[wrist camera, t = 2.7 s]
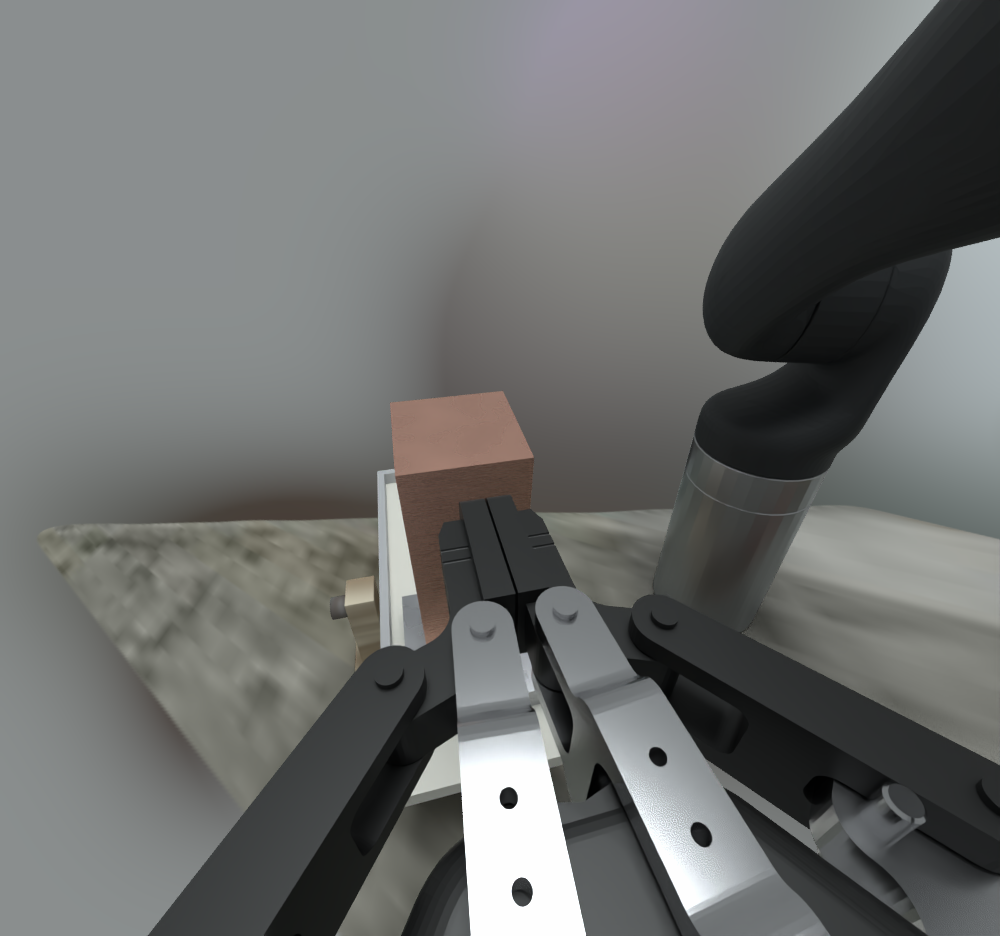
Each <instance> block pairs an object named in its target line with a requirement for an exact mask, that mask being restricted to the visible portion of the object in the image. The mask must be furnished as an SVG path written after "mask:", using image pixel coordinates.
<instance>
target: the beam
mask: <svg viewBox="0 0 1000 936" xmlns="http://www.w3.org/2000/svg"><path fill="white" fill-rule="evenodd" d="M377 473H378V531H379V589H380V646H381V648H384V647H387V646H393V645H400V646H405V639H404V624H403V608H402V597H403V596H409V595H414V594H417V592H416V586H415V581H414V576H413V570H412V565H411V560H410V554H409V549H408V543H407V538H406V533H405V527H404V522H403V516H402V511H401V506H400V500H399V495H398V490H397V484H396V479H395V469H390V470H383V471H378V472H377ZM532 708H534V709H535V711H536V714H537V717H538V720H539V724H540V729H541V733H542V738H543V742H544V747H545V752H546V756H547V761H548V765H549V768H552V767H556V766H559V765H563V763H562V759H561V756H560V754H559V751H558V748H557V746H556V743H555V741H554V738H553V735H552V733H551V730H550V728H549V725H548V722H547V720H546V717H545V715H544V712H543V709H542V707H541V704H537V705H533V706H532ZM459 792H462V790H461V775H460V760H459V745H458V734H457V735H455V736H454V737H452V738H451V739H449V740H448V741H446V742H445V743H443V744H442V745H440V746H439V747H437V748H436V749H435V750H434V753H433V755H432V757H431V759H430V761H429V763H428V764H427V766H426V768H425V770H424V772H423V774H422V775H421V777H420V779H419V781H418V783H417V785H416V787H415V788H414V790H413V792H412V794H411V796H410V798H409V800H408V801H407V803H406V805H405V807H407V806H411V805H415V804H418V803H422V802H426V801H430V800H433V799H437V798H441V797H444V796H448V795H452V794H456V793H459Z"/></svg>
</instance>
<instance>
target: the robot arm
mask: <svg viewBox="0 0 1000 936" xmlns="http://www.w3.org/2000/svg"><path fill="white" fill-rule="evenodd" d="M999 237H1000V0H940V1H939V2H938V3H937V4H936V6H935V7H934V8H933V9H932V10H931V12H930V13H929V14H928V15H927V16H926V18H925V19H924V20H923V21H922V22H921V24H920V25H919V26H918V27H917V28H916V29H915V31H914V32H913V33H912V34H911V35H910V36H909V37H908V38H907V40H906V41H905V42H904V43H903V44H902V45H901V46H900V48H899V49H898V50H897V51H896V52H895V53H894V55H893V56H892V57H891V58H890V59H889V60H888V62H887V63H886V64H885V65H884V66H883V67H882V69H881V70H880V71H879V72H878V73H877V74H876V75H875V77H874V78H873V79H872V80H871V81H870V82H869V84H868V85H867V86H866V87H865V88H864V89H863V90H862V91H861V92H860V94H859V95H858V96H857V97H856V98H855V99H854V100H853V101H852V103H851V104H850V105H849V106H848V107H847V108H846V109H845V110H844V111H843V112H842V113H841V114H840V115H839V116H838V117H837V118H836V119H835V120H834V121H833V122H832V123H831V124H830V125H829V126H828V127H827V129H826V130H825V131H824V132H823V133H822V134H821V135H820V136H819V137H818V138H817V139H816V140H815V141H814V142H813V143H812V144H811V145H810V146H809V147H808V148H807V149H806V150H805V151H804V152H803V153H802V154H801V155H800V156H799V157H798V158H797V159H796V160H795V161H794V162H793V163H792V164H791V165H790V166H789V167H788V168H787V169H786V170H785V171H784V172H783V173H782V175H780V176H779V177H778V178H777V179H776V180H775V181H774V182H773V183H772V184H771V186H769V187H768V189H767V190H766V191H765V192H764V193H763V194H762V195H761V196H760V197H759V198H758V199H757V200H756V201H755V202H754V203H753V204H752V206H750V208H749V209H748V210H747V211H746V212H745V214H744V215H743V216H742V218H741V219H740V220H739V221H738V223H737V224H736V225H735V227H734V228H733V229H732V231H731V232H730V234H729V236H728V237H727V239H726V240H725V242H724V244H723V245H722V247H721V249H720V251H719V253H718V255H717V257H716V259H715V262H714V264H713V266H712V269H711V271H710V274H709V277H708V280H707V283H706V287H705V292H704V298H703V318H704V325H705V328H706V331H707V333H708V335H709V337H710V339H711V340H712V342H713V343H714V345H715V346H717V347H718V348H719V349H720V350H721V351H723V352H724V353H727V354H729V355H731V356H734V357H737V358H741V359H746V360H753V361H765V362H768V361H769V362H787V364H786V365H784V366H783V367H781V368H780V369H778V370H777V371H775V372H773V373H771V374H770V375H767V376H765V377H763V378H761V379H758V380H756V381H753V382H750V383H747V384H744V385H740V386H737V387H734V388H730V389H727V390H724V391H721V392H719V393H717V394H715V395H714V396H712V397H711V398H709V399H708V401H706V403H705V404H704V406H703V407H702V410H701V412H700V415H699V418H698V422H697V425H696V429H695V433H694V437H693V440H692V444H691V447H690V451H689V455H688V458H687V462H686V466H685V470H684V473H683V477H682V481H681V484H680V487H679V491H678V495H677V498H676V502H675V506H674V509H673V513H672V516H671V520H670V523H669V527H668V530H667V534H666V538H665V541H664V545H663V548H662V551H661V555H660V559H659V562H658V566H657V569H656V573H655V577H654V582H653V588H654V593H655V594H654V595H647V596H644V597H641V598H640V599H638V600H637V601H636V602H635V604H634V606H633V608H624V607H613V606H605V605H601V604H597V603H595V602H592V601H591V600H590V598H589V597H588V596H587V595H586V594H584V593H583V592H581V591H579V590H578V589H576V587H575V586H574V584H573V582H572V580H571V578H570V575H569V573H568V571H567V569H566V567H565V565H564V563H563V561H562V559H561V557H560V555H559V552H558V550H557V548H556V546H554V542H553V540H552V538H551V536H550V535H549V532H548V529H547V527H546V525H545V523H544V521H543V519H542V518H541V517H539V516H538V515H537V514H536V513H535V512H533V511H532V510H531V509H526V510H520V511H517V508H516V506H515V504H514V501H513V499H512V496H511V495H510V494H509V495H502V496H495V497H488V498H485V499H484V498H482V499H475V500H468V501H462V502H459V515H460V520H455V521H449V522H444V523H443V525H442V528H441V530H440V533H439V535H438V538H439V547H440V555H441V564H442V573H443V579H444V585H445V592H446V598H447V604H448V611H449V617H450V618H449V621H448V624H447V626H446V628H445V629H444V630H443V632H442V633H441V634H440V635H439V636H438V637H437V638H435V639H434V640H433V641H431V642H429V643H428V644H426V645H424V646H422V647H420V648H418V649H417V650H415V651H414V650H412V649H411V648H408V647H405V646H400V645H393V646H387V647H384V648H381V649H379V650H377V651H375V652H374V653H372V654H371V655H370V656H368V657H367V658H366V659H365V660H364V661H363V662H362V664H361V665H360V666H359V668H358V669H357V670H356V671H355V673H354V674H353V675H352V676H351V678H350V679H349V680H348V682H347V683H346V684H345V685H344V687H343V688H342V689H341V690H340V692H339V693H338V694H337V696H336V697H335V698H334V699H333V701H332V702H331V703H330V704H329V706H328V707H327V708H326V710H325V711H324V712H323V713H322V715H321V716H320V717H319V718H318V720H317V721H316V722H315V724H314V725H313V726H312V727H311V729H310V730H309V731H308V732H307V734H306V735H305V736H304V738H303V739H302V740H301V741H300V743H299V744H298V745H297V746H296V748H295V749H294V750H293V752H292V753H291V754H290V755H289V757H288V758H287V759H286V760H285V762H284V763H283V764H282V766H281V767H280V768H279V769H278V771H277V772H276V773H275V774H274V776H273V777H272V778H271V780H270V781H269V782H268V783H267V785H266V786H265V787H264V788H263V790H262V791H261V792H260V794H259V795H258V796H257V797H256V799H255V800H254V801H253V802H252V804H251V805H250V806H249V808H248V809H247V810H246V811H245V813H244V814H243V815H242V816H241V818H240V819H239V820H238V822H237V823H236V824H235V826H234V827H233V828H232V829H231V831H230V832H229V833H228V834H227V836H226V837H225V838H224V839H223V841H222V842H221V843H220V845H219V846H218V847H217V848H216V850H215V851H214V852H213V853H212V855H211V856H210V857H209V858H208V860H207V861H206V862H205V864H204V865H203V866H202V867H201V869H200V870H199V871H198V873H197V874H196V875H195V876H194V878H193V879H192V880H191V882H190V883H189V884H188V885H187V886H186V888H185V889H184V890H183V892H182V893H181V894H180V895H179V897H178V898H177V899H176V900H175V902H174V903H173V904H172V906H171V907H170V908H169V909H168V911H167V912H166V913H165V915H164V916H163V917H162V918H161V920H160V921H159V922H158V923H157V925H156V926H155V927H154V928H153V930H152V931H151V932H150V934H149V935H148V936H335V935H336V933H337V931H338V929H339V928H340V926H341V924H342V922H343V920H344V918H345V916H346V915H347V913H348V911H349V909H350V907H351V905H352V903H353V902H354V900H355V898H356V896H357V894H358V892H359V890H360V889H361V887H362V885H363V883H364V881H365V879H366V877H367V876H368V874H369V872H370V870H371V868H372V866H373V865H374V863H375V861H376V859H377V857H378V855H379V853H380V852H381V850H382V848H383V846H384V844H385V842H386V840H387V839H388V837H389V835H390V833H391V831H392V829H393V827H394V826H395V824H396V822H397V820H398V818H399V816H400V814H401V813H402V811H403V809H404V807H405V805H406V803H407V801H408V800H409V798H410V796H411V794H412V792H413V790H414V788H415V787H416V785H417V783H418V781H419V779H420V777H421V775H422V774H423V772H424V770H425V768H426V766H427V764H428V763H429V761H430V759H431V757H432V755H433V753H434V750H435V749H436V748H437V747H439V746H440V745H442V744H443V743H445V742H446V741H448V740H449V739H451V738H452V737H454V736H455V735H457V734H458V745H459V760H460V775H461V790H462V805H463V820H464V835H465V836H464V837H463V838H462V839H460V840H459V841H458V842H457V843H456V844H455V845H454V846H453V847H451V848H450V849H449V851H448V852H447V853H446V854H445V855H444V856H443V857H442V858H441V860H440V861H439V862H438V864H437V865H436V866H435V868H434V869H433V871H432V872H431V874H430V875H429V877H428V878H427V880H426V882H425V884H424V886H423V887H422V889H421V891H420V893H419V895H418V897H417V899H416V902H415V904H414V906H413V909H412V911H411V913H410V916H409V918H408V920H407V923H406V925H405V928H404V930H403V932H402V935H401V936H1000V765H998V764H996V763H994V762H992V761H990V760H988V759H986V758H984V757H982V756H980V755H979V754H977V753H975V752H973V751H971V750H969V749H967V748H965V747H963V746H961V745H959V744H957V743H955V742H953V741H951V740H949V739H947V738H945V737H943V736H941V735H939V734H937V733H935V732H933V731H931V730H930V729H928V728H926V727H924V726H922V725H920V724H918V723H916V722H914V721H912V720H910V719H908V718H906V717H904V716H902V715H900V714H898V713H896V712H894V711H892V710H890V709H888V708H886V707H884V706H882V705H881V704H879V703H877V702H875V701H873V700H871V699H869V698H867V697H865V696H863V695H861V694H859V693H857V692H855V691H853V690H851V689H849V688H847V687H845V686H843V685H841V684H839V683H837V682H835V681H833V680H832V679H830V678H828V677H826V676H824V675H822V674H820V673H818V672H816V671H814V670H812V669H810V668H808V667H806V666H804V665H802V664H800V663H798V662H796V661H794V660H792V659H790V658H788V657H786V656H784V655H783V654H781V653H779V652H777V651H775V650H773V649H771V648H769V647H767V646H765V645H763V644H761V643H759V642H757V641H755V640H753V639H751V638H749V637H747V636H745V635H743V634H741V633H739V632H742V631H743V630H745V629H746V628H747V627H748V626H749V625H750V623H751V622H752V620H753V618H754V616H755V615H756V613H757V611H758V609H759V607H760V605H761V603H762V601H763V599H764V597H765V595H766V593H767V591H768V589H769V587H770V585H771V583H772V581H773V579H774V577H775V575H776V573H777V571H778V569H779V567H780V565H781V563H782V561H783V559H784V557H785V555H786V553H787V551H788V549H789V547H790V545H791V543H792V541H793V539H794V537H795V535H796V533H797V532H798V530H799V528H800V526H801V524H802V522H803V520H804V518H805V516H806V514H807V512H808V510H809V508H810V506H811V503H812V501H813V499H814V497H815V495H816V493H817V491H818V489H819V487H820V485H821V483H822V481H823V479H824V477H825V475H826V473H827V471H828V469H829V468H830V466H831V464H832V462H833V460H834V458H835V456H836V455H837V453H838V452H839V451H840V450H842V449H843V448H844V447H845V446H847V445H848V444H849V443H850V442H851V441H852V440H853V439H854V438H855V437H856V436H857V435H858V434H859V432H860V431H861V429H862V428H863V427H864V425H865V423H866V422H867V420H868V418H869V417H870V415H871V413H872V411H873V410H874V408H875V406H876V404H877V403H878V401H879V400H880V398H881V396H882V395H883V393H884V391H885V390H886V388H887V386H888V385H889V383H890V381H891V380H892V378H893V377H894V375H895V373H896V372H897V370H898V369H899V367H900V365H901V364H902V362H903V360H904V359H905V357H906V356H907V354H908V352H909V351H910V349H911V348H912V346H913V344H914V342H915V341H916V339H917V337H918V336H919V334H920V332H921V330H922V329H923V327H924V325H925V323H926V322H927V320H928V318H929V316H930V314H931V312H932V310H933V308H934V305H935V304H936V302H937V300H938V297H939V295H940V293H941V291H942V287H943V285H944V282H945V279H946V276H947V273H948V270H949V266H950V262H951V256H952V249H955V248H959V247H963V246H967V245H971V244H975V243H979V242H983V241H987V240H991V239H995V238H999ZM527 652H528V656H529V659H530V662H531V665H532V672H531V679H532V683H533V686H534V689H535V691H536V694H537V697H538V699H539V702H540V704H541V707H542V709H543V712H544V715H545V717H546V720H547V722H548V725H549V728H550V730H551V733H552V735H553V738H554V741H555V743H556V746H557V748H558V751H559V754H560V756H561V759H562V763H563V767H564V772H565V779H566V784H567V788H568V791H569V795H570V798H571V801H572V802H556V797H555V793H554V788H553V784H552V779H551V774H550V770H549V765H548V761H547V756H546V752H545V747H544V742H543V738H542V733H541V729H540V724H539V720H538V717H537V714H536V711H535V709H534V708H532V706H531V703H530V699H529V695H528V690H527V685H526V680H525V676H524V671H523V666H522V661H521V656H520V654H522V653H527ZM705 759H707V760H708V761H710V762H711V763H713V764H714V765H716V766H717V767H719V768H720V769H722V770H723V771H725V772H726V773H728V774H729V775H730V776H732V777H733V778H735V779H737V780H738V781H739V782H741V783H742V784H744V785H745V786H747V787H748V788H750V789H751V790H752V791H754V792H755V793H757V794H758V795H760V796H761V797H763V798H764V799H766V800H767V801H769V802H770V803H772V804H773V805H775V806H776V807H777V808H779V809H780V810H782V811H783V812H785V813H786V814H788V815H789V816H791V817H792V818H794V819H795V820H797V821H798V822H800V823H801V824H803V825H804V826H805V827H807V828H808V829H810V830H811V833H812V836H813V839H814V841H815V843H816V845H817V851H818V854H817V853H815V852H814V851H813V850H811V849H810V848H808V847H807V846H806V845H804V844H803V843H802V842H800V841H799V840H798V839H796V838H795V837H794V836H792V835H791V834H789V833H788V832H787V831H785V830H784V829H783V828H781V827H780V826H778V825H777V824H776V823H774V822H773V821H772V820H770V819H769V818H768V817H766V816H765V815H764V814H762V813H761V812H759V811H758V810H757V809H755V808H754V807H753V806H751V805H750V804H749V803H747V802H746V801H744V800H743V799H742V798H740V797H739V796H737V795H736V794H734V793H732V792H731V791H729V790H727V789H725V788H724V787H722V785H721V783H720V782H719V780H718V779H717V777H716V775H715V774H714V772H713V771H712V769H711V768H710V766H709V764H708V763H707V761H706V760H705Z"/></svg>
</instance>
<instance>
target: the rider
mask: <svg viewBox="0 0 1000 936" xmlns="http://www.w3.org/2000/svg"><path fill="white" fill-rule="evenodd" d="M390 407H391V421H392V436H393V452H394V468H395V479H396V484H397V490H398V495H399V500H400V506H401V511H402V516H403V522H404V527H405V533H406V538H407V543H408V549H409V554H410V560H411V565H412V570H413V576H414V581H415V586H416V592H417V594H414V595H409V596H403V597H402V608H403V624H404V639H405V647H408V648H411V649H412V650H414V651H415V650H417V649H418V648H420V647H422V646H424V645H426V644H428V643H429V642H431V641H433V640H434V639H435V638H437V637H438V636H439V635H440V634H441V633H442V632H443V630H444V629H445V628H446V626H447V624H448V621H449V618H450V617H449V611H448V604H447V598H446V592H445V585H444V579H443V573H442V564H441V555H440V547H439V538H438V535H439V533H440V530H441V528H442V525H443V523H444V522H449V521H455V520H460V515H459V502H462V501H468V500H475V499H482V498H484V499H485V498H488V497H495V496H502V495H509V494H510V495H511V496H512V499H513V501H514V504H515V506H516V508H517V511H520V510H526V509H530V503H531V490H532V476H533V464H534V456H533V454H532V452H531V450H530V448H529V446H528V444H527V442H526V439H525V437H524V435H523V433H522V431H521V429H520V427H519V424H518V422H517V420H516V418H515V416H514V414H513V412H512V410H511V407H510V405H509V403H508V401H507V399H506V397H505V395H504V392H503V391H500V392H489V393H480V394H470V395H460V396H451V397H442V398H433V399H432V398H431V399H421V400H412V401H402V402H392V403H390ZM520 656H521V661H522V666H523V671H524V676H525V680H526V685H527V690H528V695H529V699H530V703H531V706H533V705H537V704H540V702H539V699H538V697H537V694H536V691H535V689H534V686H533V683H532V679H531V672H532V665H531V662H530V659H529V656H528V652H527V653H522V654H520Z"/></svg>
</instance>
